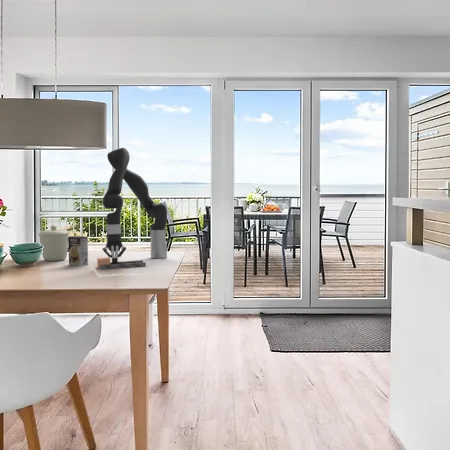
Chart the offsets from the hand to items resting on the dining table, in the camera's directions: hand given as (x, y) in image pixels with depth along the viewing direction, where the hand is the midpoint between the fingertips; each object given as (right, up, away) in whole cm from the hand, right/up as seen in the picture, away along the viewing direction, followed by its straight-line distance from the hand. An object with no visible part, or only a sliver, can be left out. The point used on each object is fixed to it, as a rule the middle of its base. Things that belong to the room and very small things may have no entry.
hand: (114, 265), depth 270 cm
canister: (-44, 0, +35) cm, 56 cm away
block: (-5, -1, -2) cm, 6 cm away
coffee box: (-24, -1, +15) cm, 28 cm away
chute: (+4, -2, +2) cm, 4 cm away
